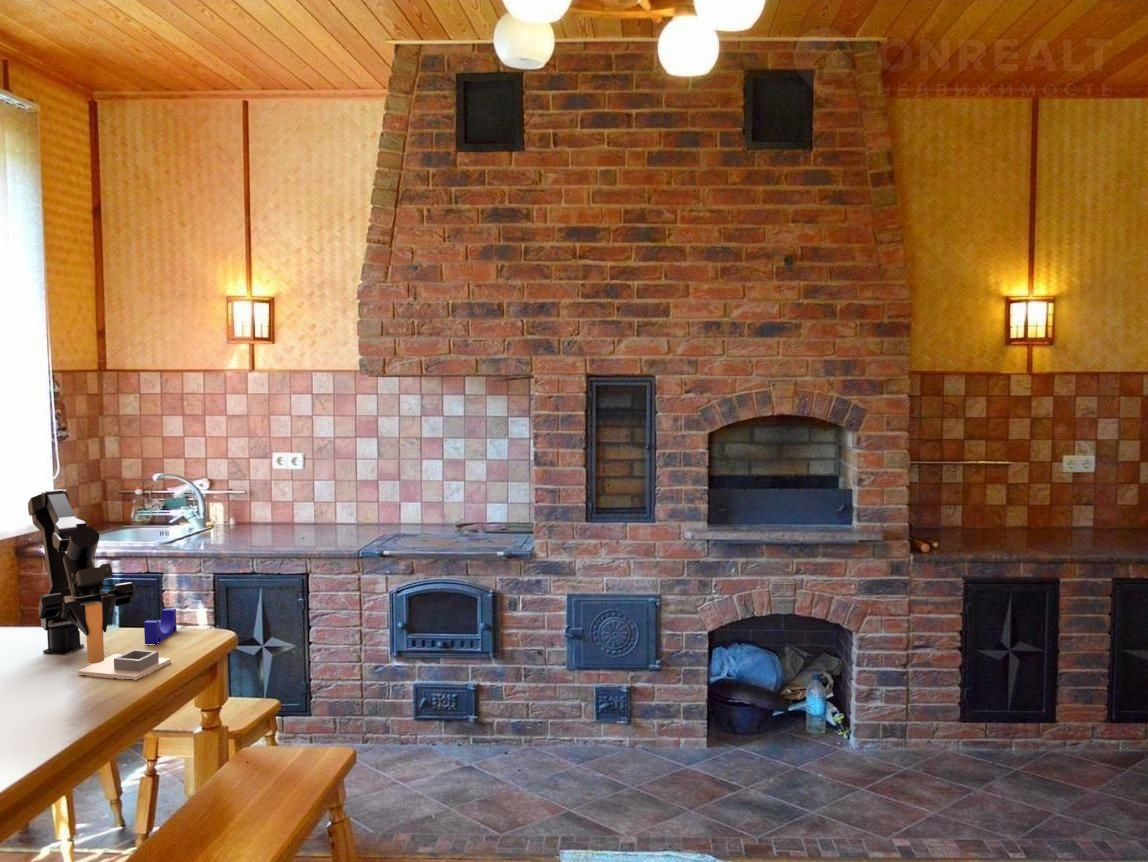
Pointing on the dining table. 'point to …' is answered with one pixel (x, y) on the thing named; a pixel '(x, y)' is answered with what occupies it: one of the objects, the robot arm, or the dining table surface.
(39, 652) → the dining table surface
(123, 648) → the dining table surface
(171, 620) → the cable clip
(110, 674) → the keeper plate
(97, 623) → the toggle bar
